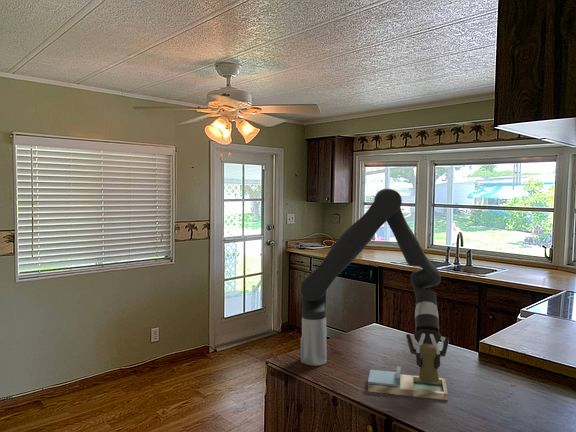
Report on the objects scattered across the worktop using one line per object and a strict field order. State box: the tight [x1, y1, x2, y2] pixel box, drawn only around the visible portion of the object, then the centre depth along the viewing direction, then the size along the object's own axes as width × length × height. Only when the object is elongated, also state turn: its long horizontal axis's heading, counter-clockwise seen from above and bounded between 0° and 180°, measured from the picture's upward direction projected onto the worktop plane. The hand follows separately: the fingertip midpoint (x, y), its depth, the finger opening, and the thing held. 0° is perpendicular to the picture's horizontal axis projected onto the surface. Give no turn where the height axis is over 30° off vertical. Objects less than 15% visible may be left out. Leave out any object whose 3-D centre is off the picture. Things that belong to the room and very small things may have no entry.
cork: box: [418, 343, 440, 383], centre depth 135 cm, size 6×6×11 cm
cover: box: [367, 365, 402, 387], centre depth 139 cm, size 10×10×3 cm
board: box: [367, 373, 449, 401], centre depth 137 cm, size 24×11×2 cm, turn 74°
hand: (428, 366), depth 133 cm, fingers closed on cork, 4 cm apart
